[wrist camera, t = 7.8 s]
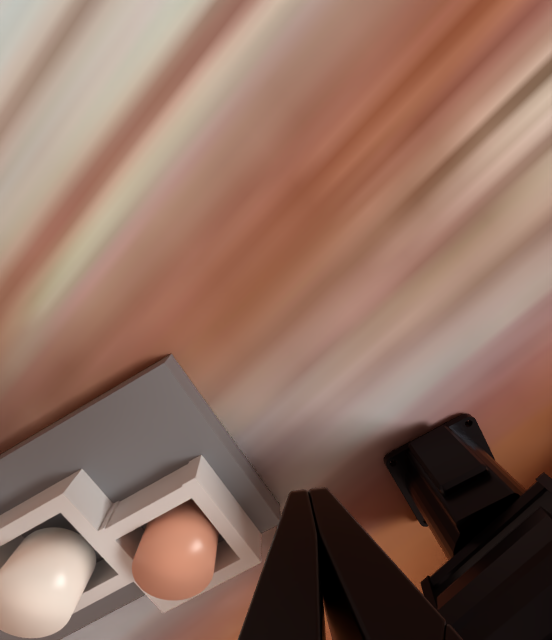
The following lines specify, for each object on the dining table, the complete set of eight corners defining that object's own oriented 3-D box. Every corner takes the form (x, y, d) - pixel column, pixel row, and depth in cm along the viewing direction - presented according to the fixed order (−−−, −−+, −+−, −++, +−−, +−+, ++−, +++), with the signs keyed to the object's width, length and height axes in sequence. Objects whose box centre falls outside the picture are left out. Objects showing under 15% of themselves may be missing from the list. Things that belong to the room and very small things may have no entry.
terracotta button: (232, 536, 21) (229, 577, 18) (174, 567, 21) (162, 612, 19) (193, 487, 20) (184, 523, 17) (133, 520, 20) (114, 560, 18)
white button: (111, 566, 20) (90, 614, 17) (51, 598, 20) (22, 650, 18) (63, 515, 19) (33, 557, 16) (1, 549, 19) (-38, 597, 17)
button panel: (279, 505, 23) (283, 551, 20) (25, 640, 25) (-12, 704, 21) (171, 353, 20) (153, 377, 17) (-110, 519, 22) (-178, 571, 18)
